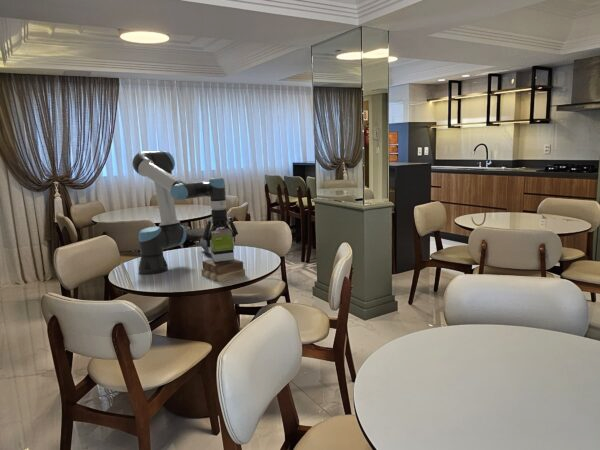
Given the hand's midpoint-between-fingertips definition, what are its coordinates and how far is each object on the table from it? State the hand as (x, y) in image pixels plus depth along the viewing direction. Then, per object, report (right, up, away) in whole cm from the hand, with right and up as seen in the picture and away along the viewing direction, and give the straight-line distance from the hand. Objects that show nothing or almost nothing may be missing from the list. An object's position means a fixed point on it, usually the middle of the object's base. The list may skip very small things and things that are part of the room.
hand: (221, 251), depth 221 cm
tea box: (0, -4, +1) cm, 4 cm away
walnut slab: (0, -9, +2) cm, 10 cm away
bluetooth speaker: (-16, -5, +52) cm, 54 cm away
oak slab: (0, -13, +2) cm, 14 cm away
